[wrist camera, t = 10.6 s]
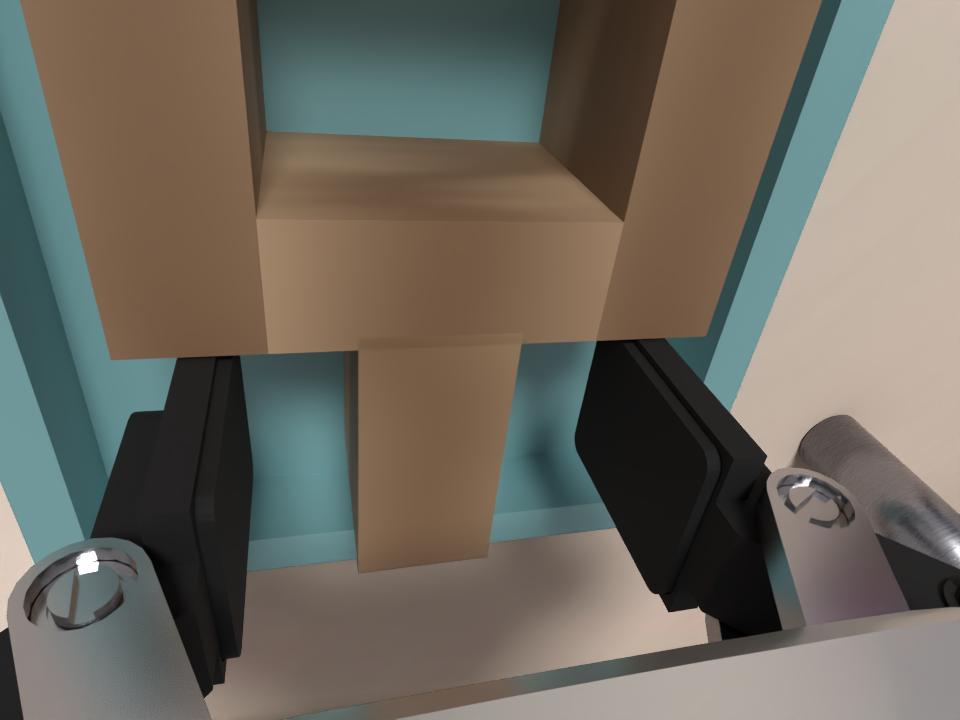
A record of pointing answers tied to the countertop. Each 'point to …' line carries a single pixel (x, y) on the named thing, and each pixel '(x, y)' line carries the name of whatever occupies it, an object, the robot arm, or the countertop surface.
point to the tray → (320, 375)
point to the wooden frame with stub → (413, 222)
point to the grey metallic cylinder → (884, 488)
